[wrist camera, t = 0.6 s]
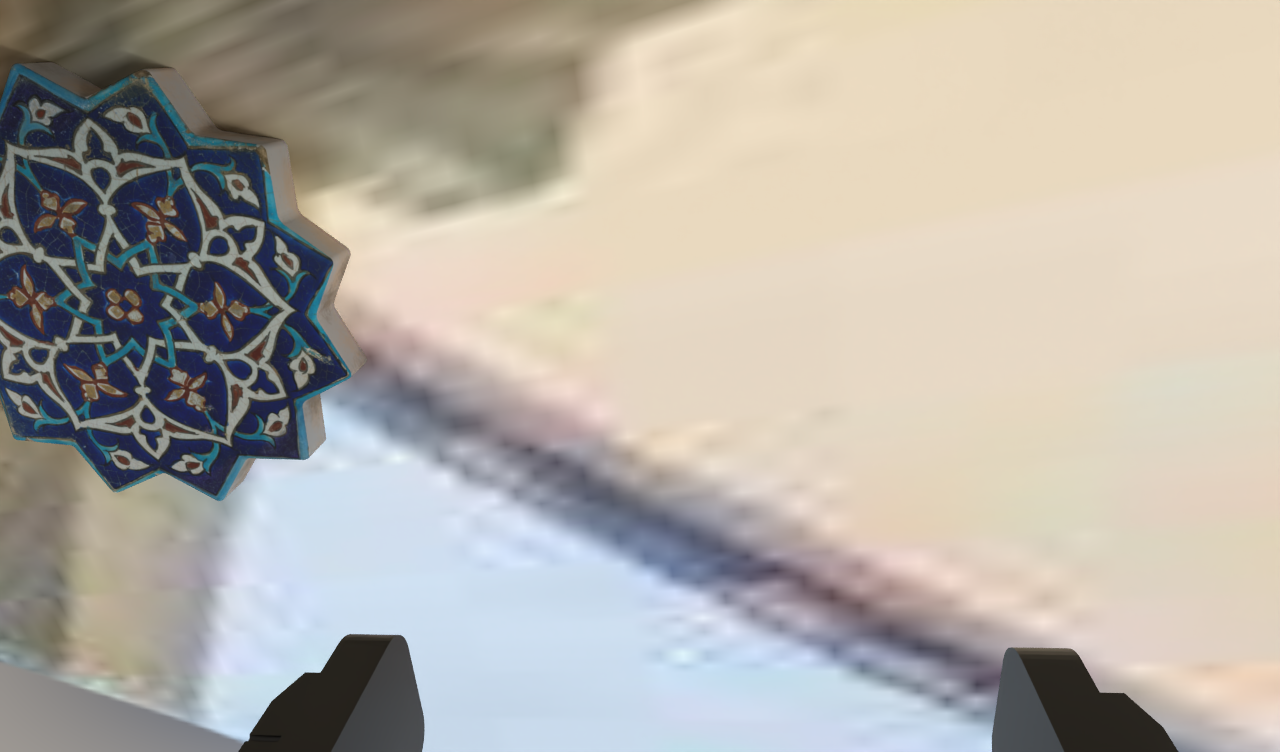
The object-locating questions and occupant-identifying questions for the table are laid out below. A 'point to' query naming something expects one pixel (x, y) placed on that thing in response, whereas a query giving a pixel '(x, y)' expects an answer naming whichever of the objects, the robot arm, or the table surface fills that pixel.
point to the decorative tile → (159, 284)
